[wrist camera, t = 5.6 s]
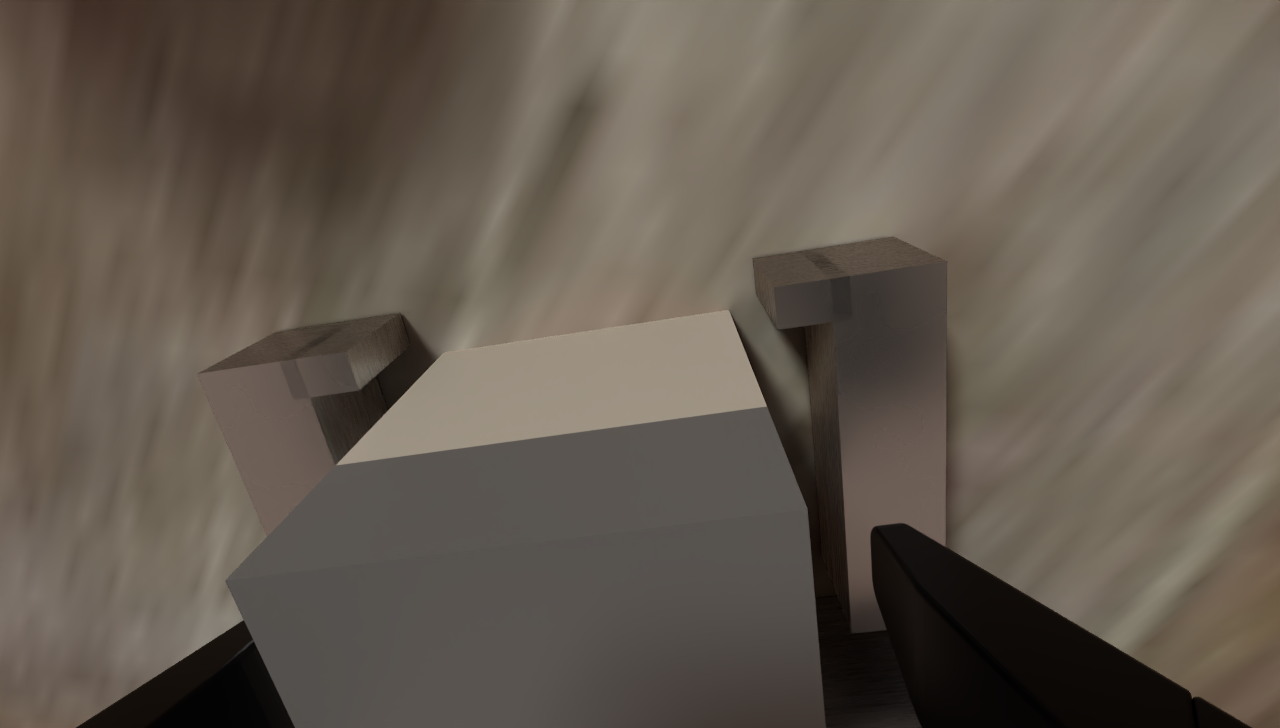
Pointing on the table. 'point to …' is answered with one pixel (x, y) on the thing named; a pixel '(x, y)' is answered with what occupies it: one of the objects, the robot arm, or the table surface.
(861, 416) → the knobbed block assembly
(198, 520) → the table surface
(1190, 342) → the table surface
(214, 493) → the table surface
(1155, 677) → the robot arm
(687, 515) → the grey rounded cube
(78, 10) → the table surface
